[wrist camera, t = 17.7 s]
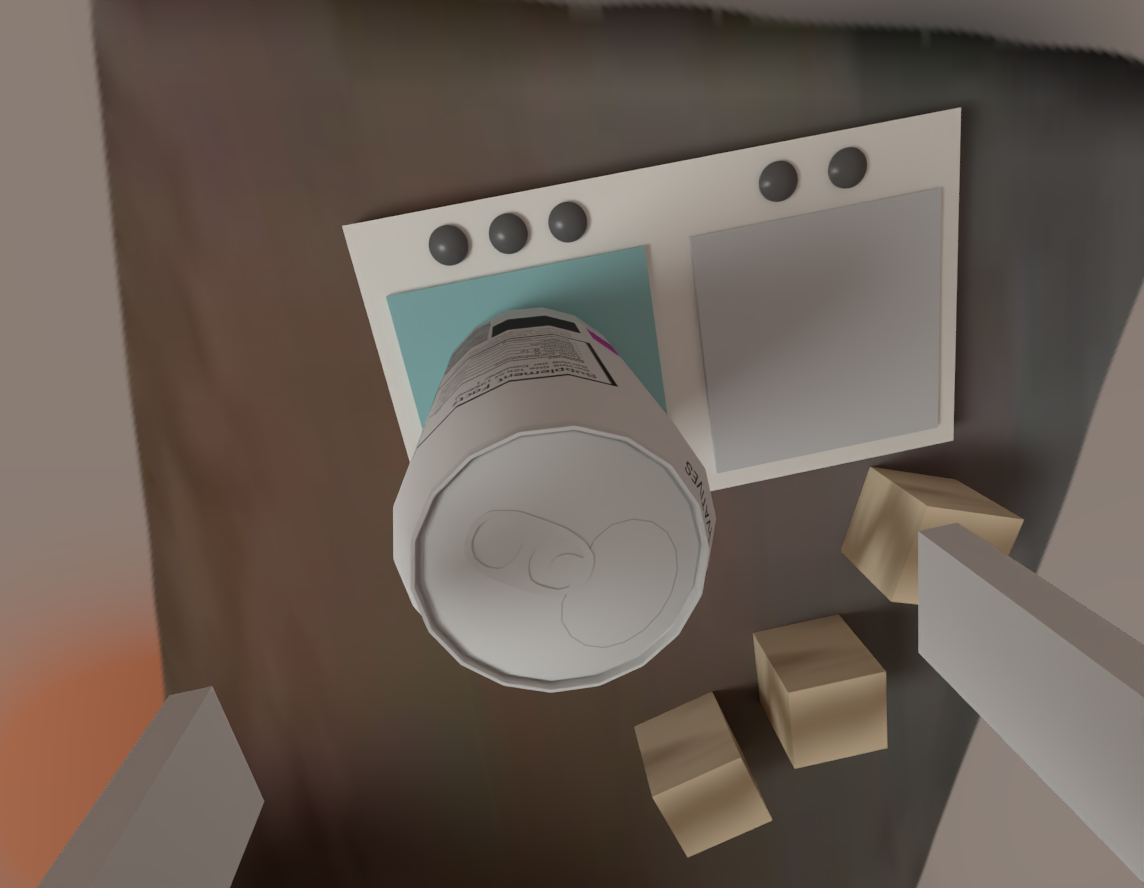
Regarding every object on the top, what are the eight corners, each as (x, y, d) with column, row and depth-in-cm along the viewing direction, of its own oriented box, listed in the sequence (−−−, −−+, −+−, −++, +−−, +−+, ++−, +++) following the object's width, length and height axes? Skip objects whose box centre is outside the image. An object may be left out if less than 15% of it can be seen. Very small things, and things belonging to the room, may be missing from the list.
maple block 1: (740, 749, 40) (772, 820, 35) (666, 782, 40) (687, 857, 36) (711, 690, 38) (740, 757, 34) (633, 725, 39) (651, 796, 34)
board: (934, 431, 34) (957, 442, 32) (437, 534, 33) (434, 551, 31) (938, 112, 29) (965, 106, 27) (350, 225, 28) (340, 226, 26)
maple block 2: (841, 683, 39) (887, 748, 34) (759, 701, 39) (794, 768, 34) (837, 613, 37) (886, 671, 33) (752, 631, 37) (788, 692, 32)
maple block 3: (921, 560, 37) (983, 611, 32) (839, 550, 36) (890, 601, 31) (954, 478, 35) (1024, 519, 30) (869, 466, 34) (927, 506, 30)
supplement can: (655, 350, 29) (796, 479, 15) (577, 507, 31) (637, 748, 17) (485, 272, 27) (464, 336, 13) (414, 445, 30) (332, 656, 15)
